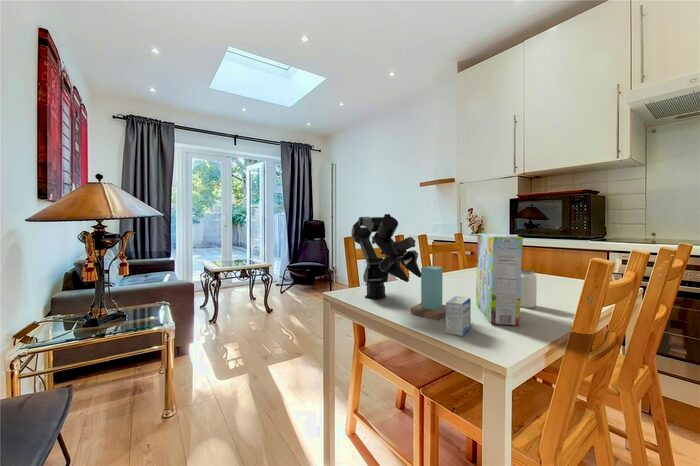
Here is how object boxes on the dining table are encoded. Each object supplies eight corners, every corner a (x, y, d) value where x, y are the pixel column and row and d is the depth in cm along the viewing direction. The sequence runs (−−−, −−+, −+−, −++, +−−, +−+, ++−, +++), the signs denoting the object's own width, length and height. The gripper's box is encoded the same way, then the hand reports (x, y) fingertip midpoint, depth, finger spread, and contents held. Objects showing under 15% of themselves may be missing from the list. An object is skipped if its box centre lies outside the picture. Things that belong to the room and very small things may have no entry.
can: (540, 308, 101) (541, 273, 101) (521, 308, 102) (521, 273, 101) (529, 302, 108) (529, 270, 107) (511, 303, 108) (511, 270, 107)
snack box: (523, 327, 84) (524, 236, 83) (490, 325, 86) (491, 236, 85) (500, 305, 106) (501, 232, 104) (474, 304, 107) (475, 232, 106)
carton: (421, 307, 97) (421, 267, 97) (428, 304, 101) (428, 265, 101) (435, 310, 94) (435, 269, 94) (442, 306, 98) (442, 267, 97)
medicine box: (462, 337, 78) (462, 304, 78) (445, 333, 81) (445, 301, 80) (470, 328, 84) (471, 297, 84) (455, 324, 87) (455, 295, 87)
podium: (410, 313, 97) (410, 307, 97) (424, 306, 105) (424, 301, 105) (440, 320, 91) (440, 313, 91) (452, 312, 98) (452, 306, 98)
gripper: (386, 230, 97) (417, 267, 90) (413, 228, 111) (442, 260, 105) (367, 253, 102) (395, 289, 96) (395, 248, 117) (421, 279, 110)
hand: (414, 279), depth 102 cm, fingers open, 9 cm apart
